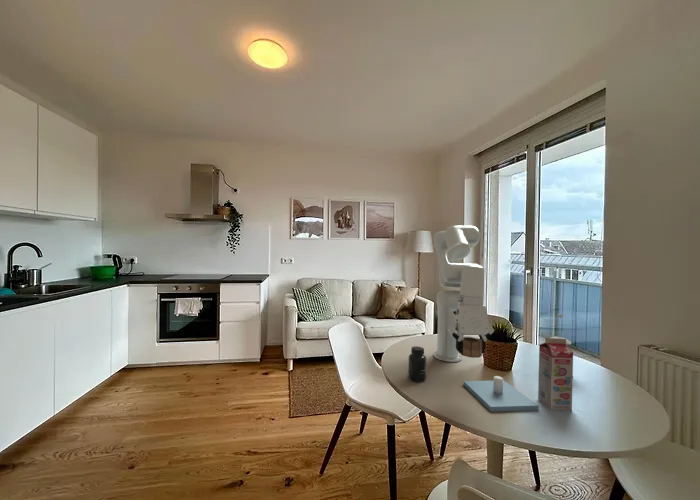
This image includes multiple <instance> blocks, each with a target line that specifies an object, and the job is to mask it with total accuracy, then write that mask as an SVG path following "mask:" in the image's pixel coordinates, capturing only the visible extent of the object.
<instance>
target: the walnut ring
mask: <svg viewBox="0 0 700 500" xmlns="http://www.w3.org/2000/svg"><path fill="white" fill-rule="evenodd" d="M461 341H462V342H463V353H459V354H460V355H461V356H463V357H468V358H474V359H475V358H481V357H482V356H483V353H482V340H480V337H474V336H471V335H464V336H463V338H462V340H461Z"/></svg>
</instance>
